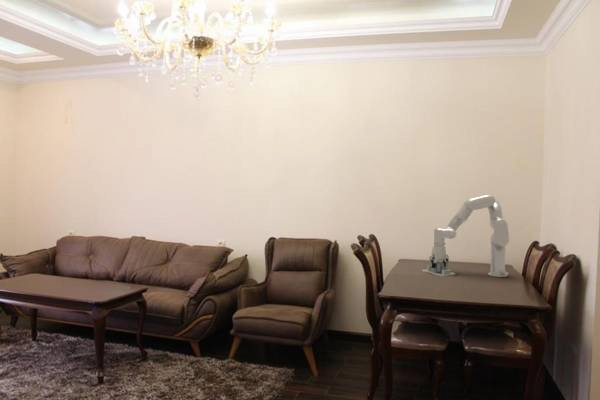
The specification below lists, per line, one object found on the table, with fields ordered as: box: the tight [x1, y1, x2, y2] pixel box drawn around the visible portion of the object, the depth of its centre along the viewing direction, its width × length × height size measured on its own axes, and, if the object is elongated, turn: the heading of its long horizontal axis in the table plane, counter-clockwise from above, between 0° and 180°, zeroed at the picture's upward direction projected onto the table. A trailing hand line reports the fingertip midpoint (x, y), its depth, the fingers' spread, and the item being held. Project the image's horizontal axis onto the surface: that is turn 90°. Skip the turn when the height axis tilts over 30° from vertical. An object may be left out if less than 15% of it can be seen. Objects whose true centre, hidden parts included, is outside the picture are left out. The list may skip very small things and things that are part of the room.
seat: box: [421, 264, 456, 277], centre depth 342 cm, size 20×14×6 cm
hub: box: [434, 262, 445, 272], centre depth 342 cm, size 7×7×6 cm
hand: (438, 267), depth 342 cm, fingers open, 9 cm apart
